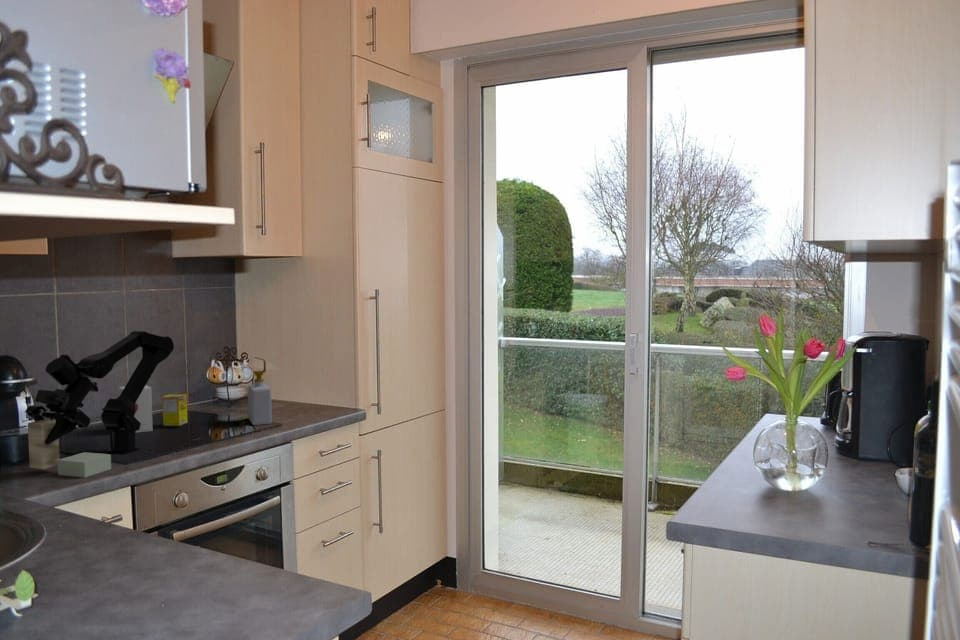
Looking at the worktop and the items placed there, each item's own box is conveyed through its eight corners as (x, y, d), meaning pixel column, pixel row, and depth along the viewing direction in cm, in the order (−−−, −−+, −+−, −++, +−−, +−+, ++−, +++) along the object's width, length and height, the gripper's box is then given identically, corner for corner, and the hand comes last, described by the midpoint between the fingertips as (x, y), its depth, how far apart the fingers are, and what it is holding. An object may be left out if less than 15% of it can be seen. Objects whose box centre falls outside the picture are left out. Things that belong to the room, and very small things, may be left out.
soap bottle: (248, 419, 275) (246, 355, 274) (267, 418, 278) (265, 354, 276) (252, 425, 264) (251, 359, 262) (272, 424, 267) (270, 358, 265)
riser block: (111, 468, 207) (110, 454, 206) (84, 477, 198) (84, 462, 198) (85, 466, 209) (84, 452, 209) (58, 474, 201) (57, 460, 201)
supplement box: (188, 424, 267) (187, 393, 266) (179, 428, 261) (178, 396, 260) (171, 424, 267) (171, 393, 266) (163, 427, 261) (162, 396, 260)
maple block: (46, 462, 207) (44, 419, 206) (59, 464, 205) (58, 420, 204) (29, 467, 202) (27, 423, 201) (43, 469, 200) (41, 424, 199)
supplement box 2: (124, 434, 250) (122, 389, 250) (118, 430, 258) (117, 386, 257) (153, 431, 256) (151, 387, 255) (147, 426, 263) (145, 384, 262)
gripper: (29, 376, 209) (-7, 423, 199) (79, 379, 202) (43, 428, 192) (56, 399, 217) (22, 446, 207) (104, 403, 210) (72, 452, 200)
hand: (39, 442), depth 202 cm, fingers closed on maple block, 5 cm apart
